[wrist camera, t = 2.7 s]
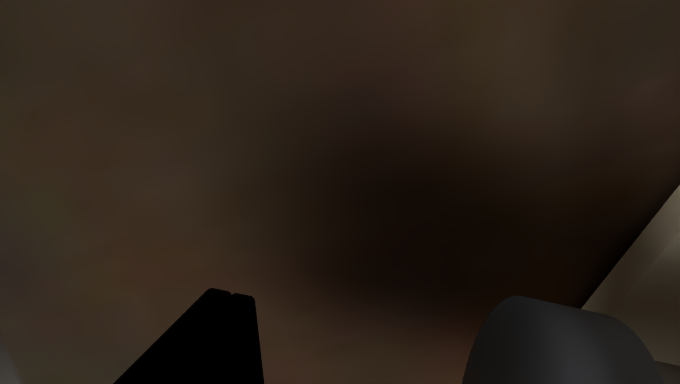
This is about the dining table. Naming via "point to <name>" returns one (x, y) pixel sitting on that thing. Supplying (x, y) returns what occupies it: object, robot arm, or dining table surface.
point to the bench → (648, 285)
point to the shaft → (560, 348)
